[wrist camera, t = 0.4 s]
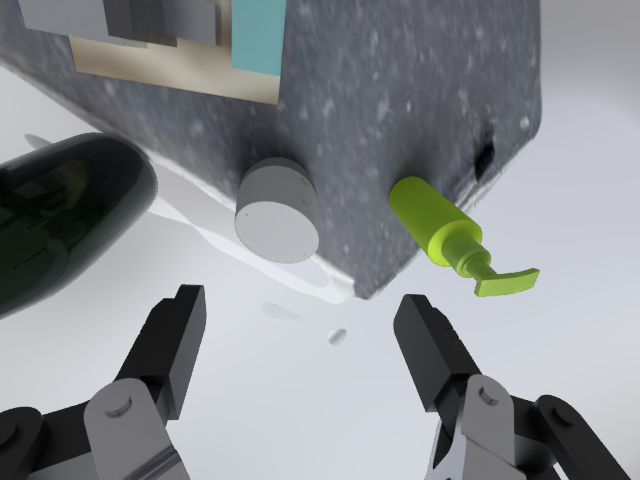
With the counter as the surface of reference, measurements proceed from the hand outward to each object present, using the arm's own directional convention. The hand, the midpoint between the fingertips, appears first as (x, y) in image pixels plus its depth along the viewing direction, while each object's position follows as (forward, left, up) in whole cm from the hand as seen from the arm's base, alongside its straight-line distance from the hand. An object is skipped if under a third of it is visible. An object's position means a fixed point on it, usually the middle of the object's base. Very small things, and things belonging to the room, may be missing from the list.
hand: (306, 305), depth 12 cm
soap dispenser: (+5, +18, -28) cm, 34 cm away
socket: (-10, -4, -27) cm, 29 cm away
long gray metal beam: (-10, -15, -27) cm, 32 cm away
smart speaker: (+6, -1, -28) cm, 29 cm away
